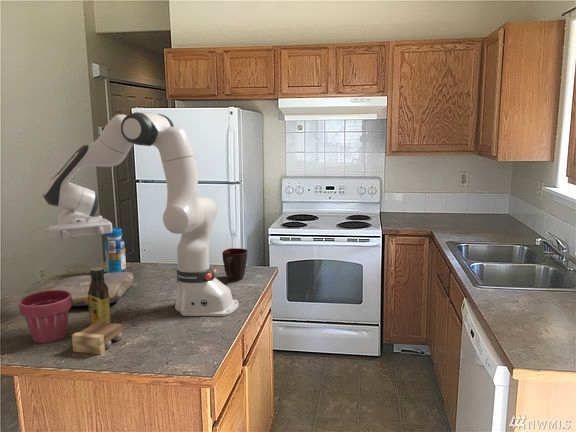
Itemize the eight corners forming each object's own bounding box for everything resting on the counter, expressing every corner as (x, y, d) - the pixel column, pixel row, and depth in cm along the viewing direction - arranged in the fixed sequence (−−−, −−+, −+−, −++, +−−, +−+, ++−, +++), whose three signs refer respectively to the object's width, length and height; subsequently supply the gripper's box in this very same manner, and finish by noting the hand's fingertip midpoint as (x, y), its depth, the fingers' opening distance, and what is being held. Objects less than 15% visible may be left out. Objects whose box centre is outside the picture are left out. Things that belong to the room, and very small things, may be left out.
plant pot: (27, 351, 140) (22, 309, 138) (19, 334, 151) (15, 295, 149) (79, 338, 148) (76, 298, 146) (69, 323, 159) (65, 286, 157)
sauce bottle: (87, 327, 156) (81, 267, 153) (105, 322, 161) (101, 264, 157) (95, 333, 152) (90, 272, 148) (114, 327, 156) (110, 268, 153)
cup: (250, 276, 209) (250, 249, 207) (239, 286, 196) (238, 257, 194) (229, 274, 212) (228, 247, 210) (216, 284, 199) (215, 255, 196)
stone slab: (136, 283, 201) (135, 269, 200) (126, 308, 173) (124, 291, 172) (56, 288, 196) (55, 274, 195) (33, 315, 168) (31, 298, 167)
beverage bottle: (103, 273, 214) (99, 229, 211) (120, 269, 220) (117, 226, 217) (113, 277, 209) (109, 232, 205) (130, 273, 215) (127, 228, 212)
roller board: (123, 337, 148) (122, 322, 147) (100, 354, 137) (99, 337, 137) (97, 335, 150) (96, 320, 149) (73, 351, 140) (71, 335, 139)
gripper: (43, 220, 166) (50, 228, 155) (105, 215, 177) (116, 221, 166) (45, 238, 167) (51, 247, 156) (106, 231, 178) (117, 239, 167)
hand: (85, 234), depth 161 cm, fingers open, 8 cm apart
